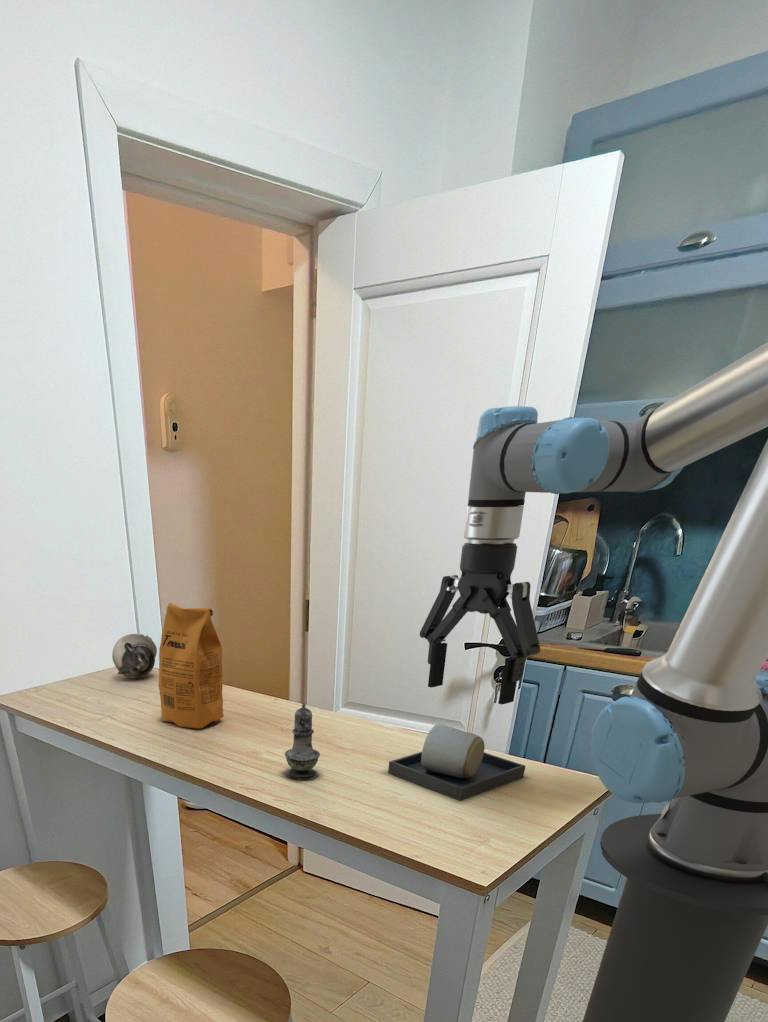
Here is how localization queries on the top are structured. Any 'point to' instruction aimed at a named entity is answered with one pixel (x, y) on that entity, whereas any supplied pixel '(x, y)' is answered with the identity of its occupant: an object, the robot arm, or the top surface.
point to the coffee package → (190, 668)
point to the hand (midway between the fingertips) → (468, 694)
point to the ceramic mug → (452, 752)
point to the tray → (486, 778)
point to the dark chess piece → (302, 748)
